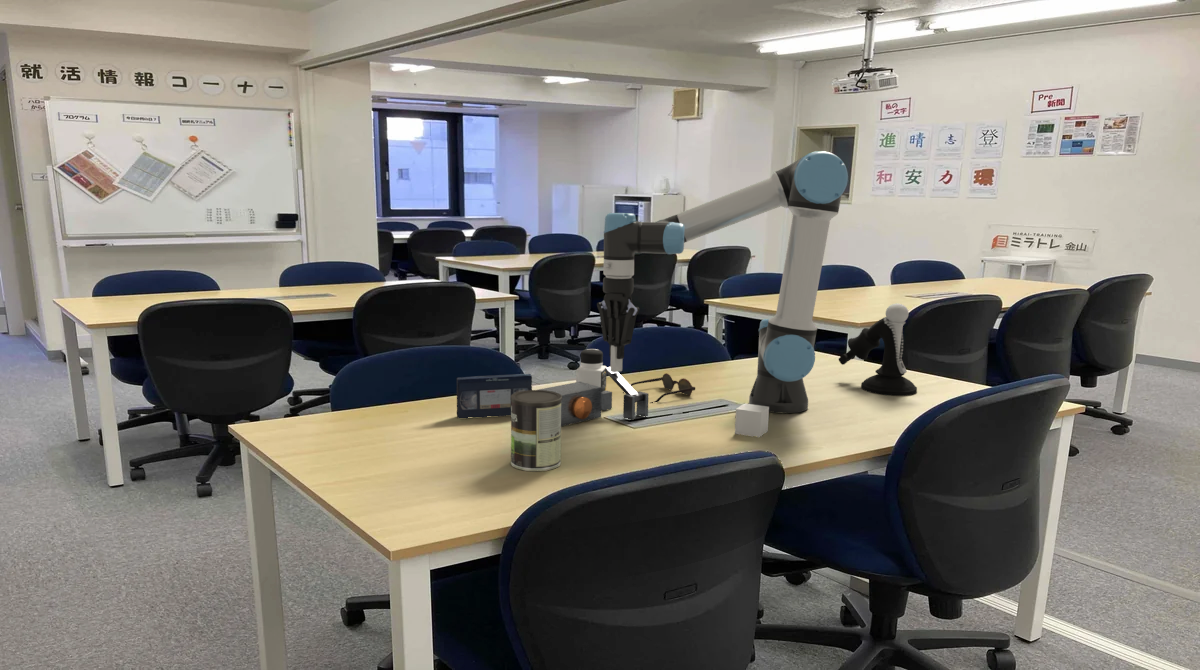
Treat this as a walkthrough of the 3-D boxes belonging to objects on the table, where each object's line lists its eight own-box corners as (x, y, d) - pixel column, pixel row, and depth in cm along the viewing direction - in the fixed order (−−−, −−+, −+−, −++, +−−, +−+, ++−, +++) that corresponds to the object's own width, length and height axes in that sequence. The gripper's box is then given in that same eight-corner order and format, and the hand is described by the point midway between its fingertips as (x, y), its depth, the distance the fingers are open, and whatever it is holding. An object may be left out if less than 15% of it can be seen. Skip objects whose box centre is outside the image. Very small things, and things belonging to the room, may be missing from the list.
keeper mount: (647, 417, 202) (648, 393, 200) (631, 421, 198) (632, 397, 197) (610, 406, 211) (610, 383, 210) (594, 410, 207) (594, 386, 206)
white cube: (759, 438, 186) (761, 412, 185) (734, 434, 189) (735, 408, 188) (767, 431, 191) (769, 406, 190) (743, 427, 194) (744, 403, 193)
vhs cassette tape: (457, 419, 197) (457, 379, 196) (456, 416, 200) (455, 376, 198) (532, 415, 202) (532, 375, 200) (530, 412, 205) (530, 373, 203)
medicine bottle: (601, 396, 221) (602, 353, 219) (575, 395, 223) (576, 351, 221) (606, 390, 228) (607, 348, 226) (581, 389, 230) (581, 347, 228)
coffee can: (509, 472, 160) (509, 402, 158) (511, 455, 170) (510, 389, 168) (562, 471, 161) (563, 402, 159) (560, 455, 171) (561, 389, 169)
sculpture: (901, 398, 225) (909, 308, 220) (824, 383, 241) (830, 299, 237) (925, 389, 235) (933, 303, 231) (850, 376, 252) (855, 295, 248)
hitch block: (601, 417, 201) (601, 387, 200) (557, 427, 192) (557, 396, 190) (579, 410, 207) (579, 381, 205) (536, 420, 197) (536, 389, 196)
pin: (591, 416, 197) (592, 395, 196) (575, 420, 193) (575, 399, 192) (555, 406, 206) (556, 385, 206) (539, 409, 203) (539, 389, 202)
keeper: (641, 402, 201) (644, 396, 200) (632, 404, 199) (635, 398, 198) (611, 370, 208) (614, 364, 207) (602, 372, 205) (605, 366, 204)
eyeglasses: (695, 398, 223) (695, 380, 222) (652, 405, 215) (652, 387, 214) (661, 387, 235) (662, 370, 234) (619, 394, 226) (619, 376, 226)
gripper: (589, 275, 202) (587, 368, 206) (626, 279, 193) (624, 377, 197) (611, 273, 207) (609, 364, 211) (648, 278, 198) (645, 373, 202)
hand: (616, 370), depth 204 cm, fingers closed
